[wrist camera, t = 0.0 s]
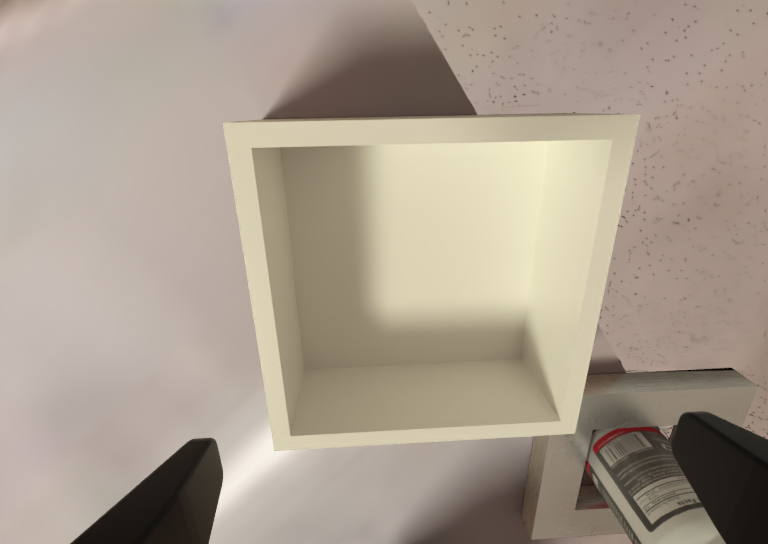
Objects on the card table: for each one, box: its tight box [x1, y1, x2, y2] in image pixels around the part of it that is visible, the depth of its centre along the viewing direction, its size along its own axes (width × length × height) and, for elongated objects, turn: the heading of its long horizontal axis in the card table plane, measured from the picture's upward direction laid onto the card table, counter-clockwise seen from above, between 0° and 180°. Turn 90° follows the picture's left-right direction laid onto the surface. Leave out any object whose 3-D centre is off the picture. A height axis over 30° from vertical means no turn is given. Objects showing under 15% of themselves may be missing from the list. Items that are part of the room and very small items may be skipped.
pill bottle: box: [585, 426, 726, 544], centre depth 23 cm, size 5×5×10 cm
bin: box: [223, 113, 640, 451], centre depth 19 cm, size 14×14×6 cm
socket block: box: [521, 368, 758, 540], centre depth 26 cm, size 12×12×2 cm
